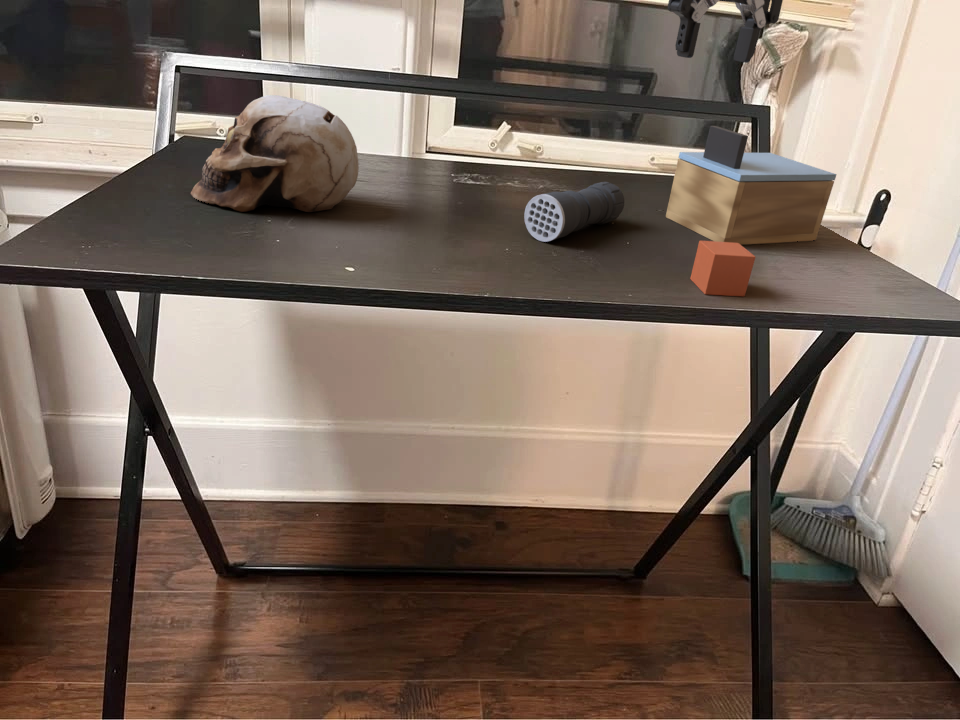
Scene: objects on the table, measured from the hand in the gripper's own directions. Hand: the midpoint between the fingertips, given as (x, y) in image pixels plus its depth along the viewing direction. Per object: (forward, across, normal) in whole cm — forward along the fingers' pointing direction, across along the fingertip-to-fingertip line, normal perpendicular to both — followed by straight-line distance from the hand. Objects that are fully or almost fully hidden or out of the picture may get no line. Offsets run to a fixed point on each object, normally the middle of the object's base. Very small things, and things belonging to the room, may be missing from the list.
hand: (713, 59), depth 87 cm
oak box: (+21, +11, 0) cm, 24 cm away
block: (+21, -8, -18) cm, 29 cm away
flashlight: (+21, -14, +2) cm, 25 cm away
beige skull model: (+22, -48, +17) cm, 55 cm away
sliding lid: (+13, +11, 0) cm, 17 cm away
